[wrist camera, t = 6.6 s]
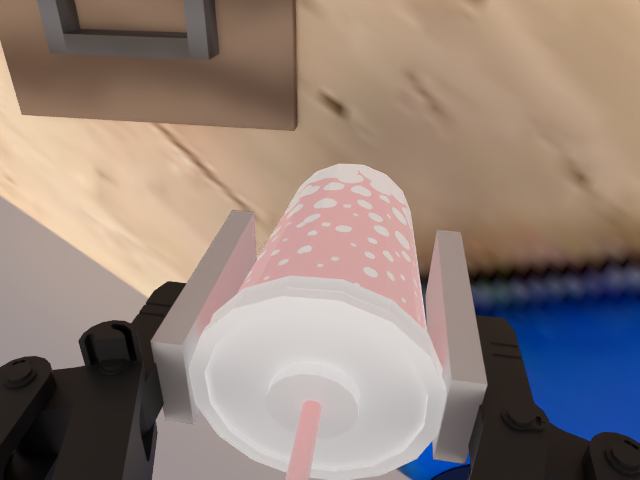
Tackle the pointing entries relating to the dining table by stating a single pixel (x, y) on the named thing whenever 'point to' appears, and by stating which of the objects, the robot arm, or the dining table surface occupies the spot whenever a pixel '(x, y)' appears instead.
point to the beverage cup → (327, 339)
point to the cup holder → (154, 60)
